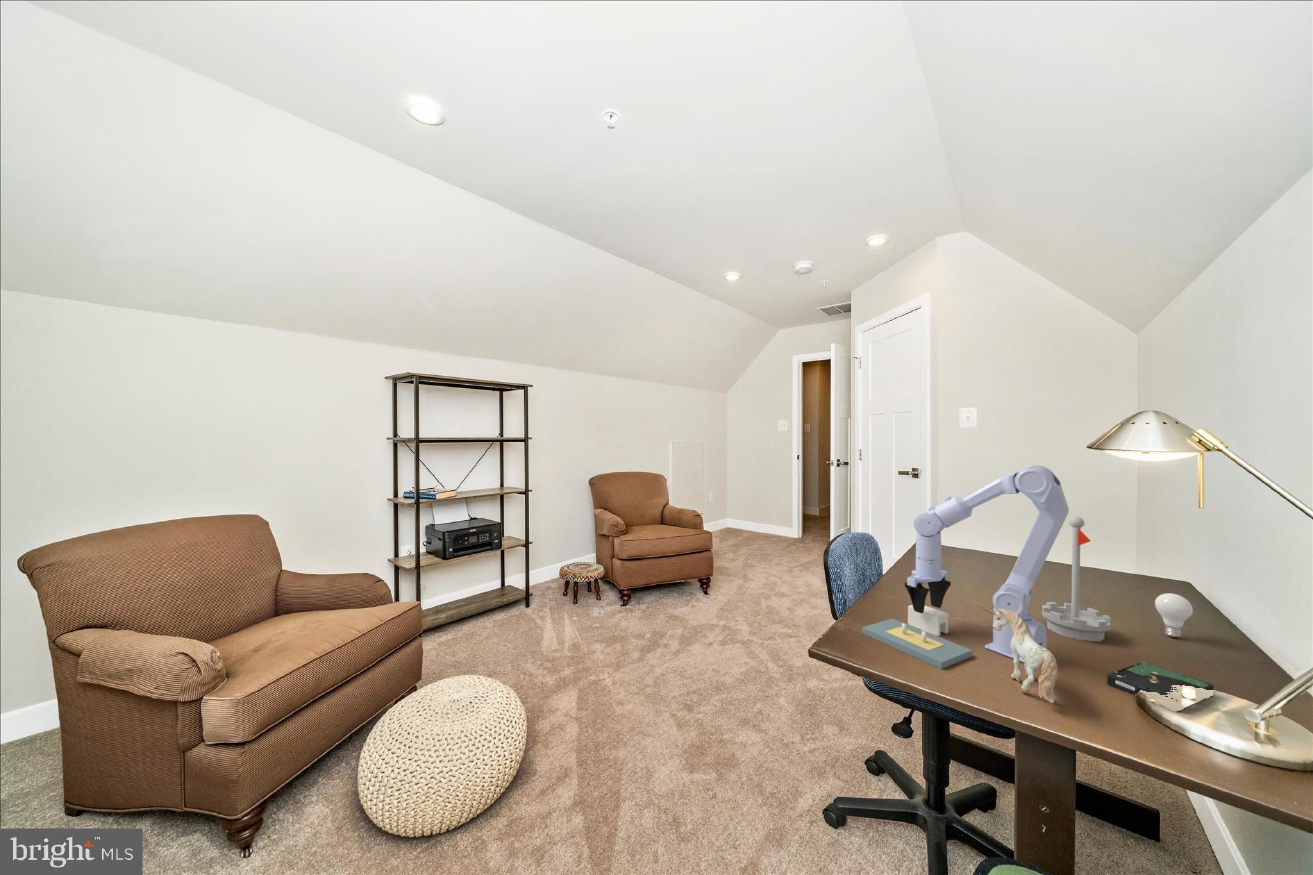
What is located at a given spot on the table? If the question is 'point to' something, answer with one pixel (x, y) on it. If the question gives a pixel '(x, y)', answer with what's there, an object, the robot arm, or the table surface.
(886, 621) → the pin board
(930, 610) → the channel block
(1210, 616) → the table surface
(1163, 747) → the table surface
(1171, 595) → the lightbulb
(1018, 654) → the unicorn figurine
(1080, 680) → the table surface
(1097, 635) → the flag stand
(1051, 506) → the robot arm
